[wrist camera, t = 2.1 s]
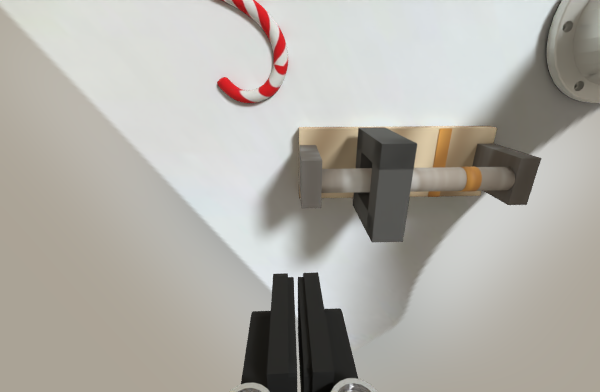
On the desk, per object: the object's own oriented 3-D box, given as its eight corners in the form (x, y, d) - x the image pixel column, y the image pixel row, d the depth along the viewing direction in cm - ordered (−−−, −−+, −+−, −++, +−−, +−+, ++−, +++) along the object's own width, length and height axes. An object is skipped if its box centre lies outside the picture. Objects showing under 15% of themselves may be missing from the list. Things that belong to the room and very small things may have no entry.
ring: (384, 127, 26) (417, 143, 20) (376, 204, 29) (402, 241, 22) (358, 127, 26) (382, 143, 19) (352, 204, 29) (372, 242, 22)
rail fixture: (489, 126, 29) (547, 139, 22) (473, 191, 32) (522, 220, 25) (298, 127, 28) (301, 141, 22) (299, 194, 31) (301, 224, 24)
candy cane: (145, -92, 21) (308, 43, 25) (153, -83, 23) (307, 45, 26) (103, 7, 23) (258, 118, 27) (112, 10, 25) (260, 117, 28)
